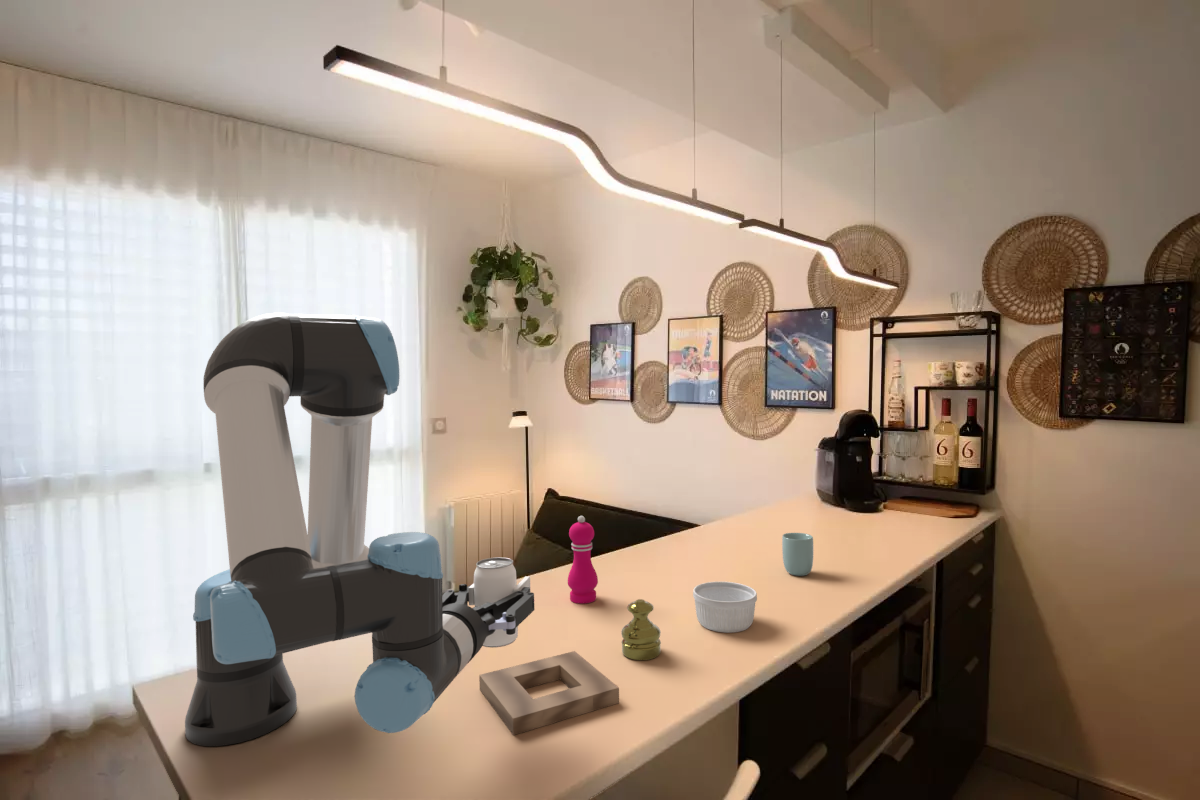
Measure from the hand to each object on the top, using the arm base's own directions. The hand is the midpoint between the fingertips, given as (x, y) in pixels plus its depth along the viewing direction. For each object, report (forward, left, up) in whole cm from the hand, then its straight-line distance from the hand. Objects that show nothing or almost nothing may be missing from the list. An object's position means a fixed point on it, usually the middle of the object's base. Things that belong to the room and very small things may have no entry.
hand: (506, 583), depth 101 cm
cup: (+89, +23, -19) cm, 94 cm away
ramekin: (+51, +7, -20) cm, 55 cm away
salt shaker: (+28, +4, -19) cm, 34 cm away
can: (-3, -4, -7) cm, 9 cm away
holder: (+6, -2, -19) cm, 20 cm away
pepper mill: (+32, +36, -19) cm, 52 cm away
